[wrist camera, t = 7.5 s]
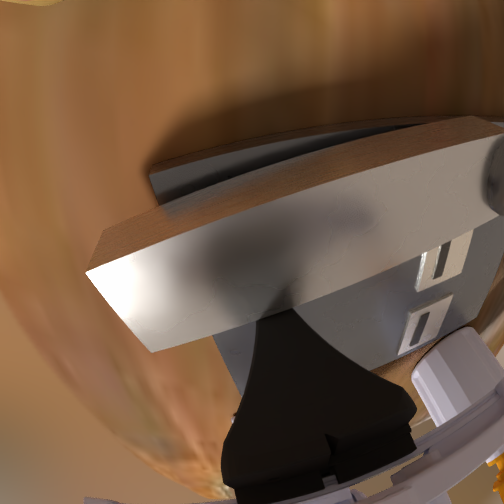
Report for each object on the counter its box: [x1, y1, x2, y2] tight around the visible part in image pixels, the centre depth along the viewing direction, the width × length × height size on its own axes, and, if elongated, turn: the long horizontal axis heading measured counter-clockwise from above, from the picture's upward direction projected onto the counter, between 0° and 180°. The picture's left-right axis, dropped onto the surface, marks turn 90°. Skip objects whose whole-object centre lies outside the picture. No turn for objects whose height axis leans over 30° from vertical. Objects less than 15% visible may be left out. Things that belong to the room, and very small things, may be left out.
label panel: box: [149, 116, 504, 397], centre depth 16 cm, size 18×22×2 cm
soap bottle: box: [412, 327, 504, 503], centre depth 16 cm, size 9×9×25 cm
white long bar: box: [86, 115, 504, 353], centre depth 9 cm, size 18×4×3 cm, turn 106°
